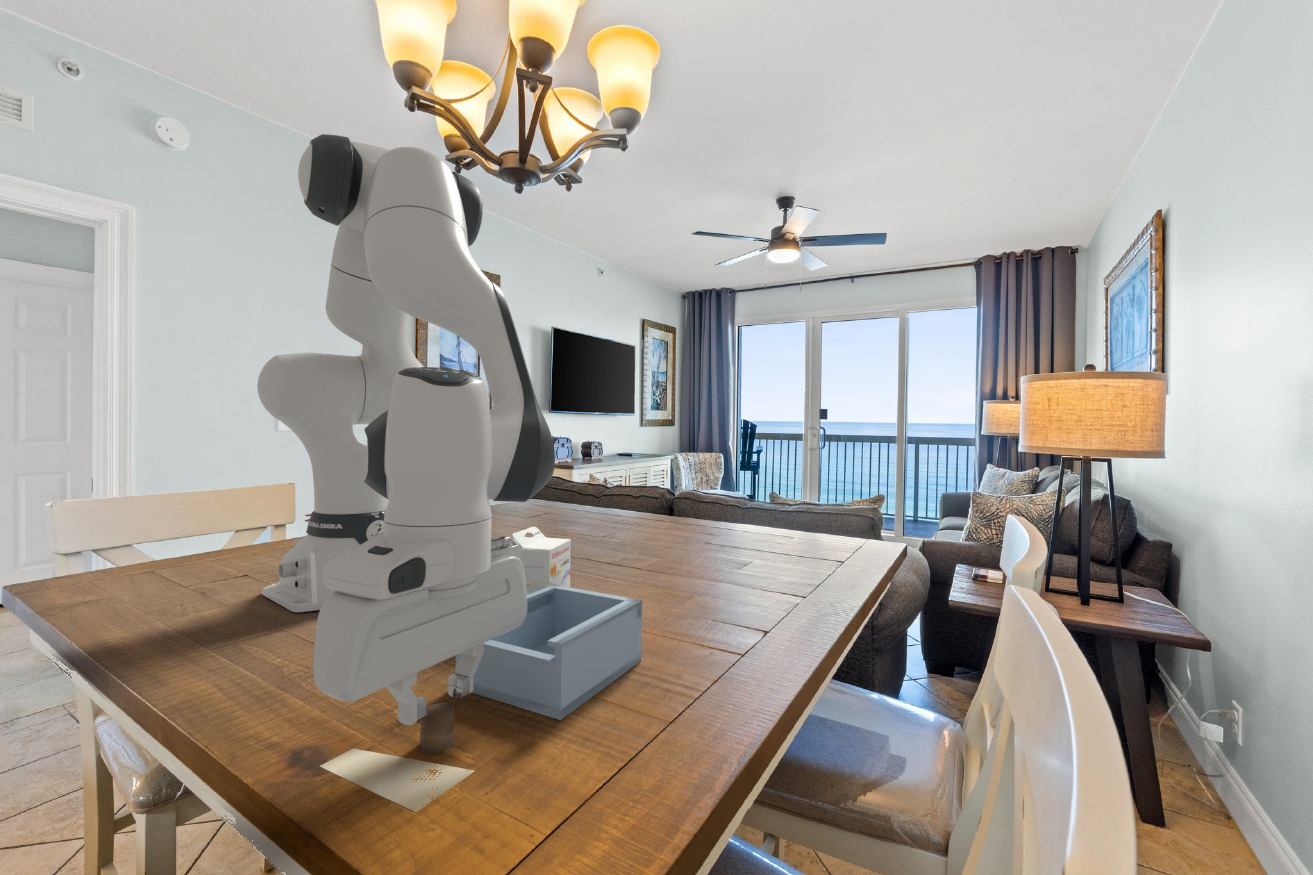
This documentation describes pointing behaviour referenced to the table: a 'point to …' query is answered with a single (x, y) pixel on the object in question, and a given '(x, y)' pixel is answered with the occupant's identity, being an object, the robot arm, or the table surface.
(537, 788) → the table surface
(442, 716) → the lid
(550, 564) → the ink box
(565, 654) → the box
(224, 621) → the table surface
